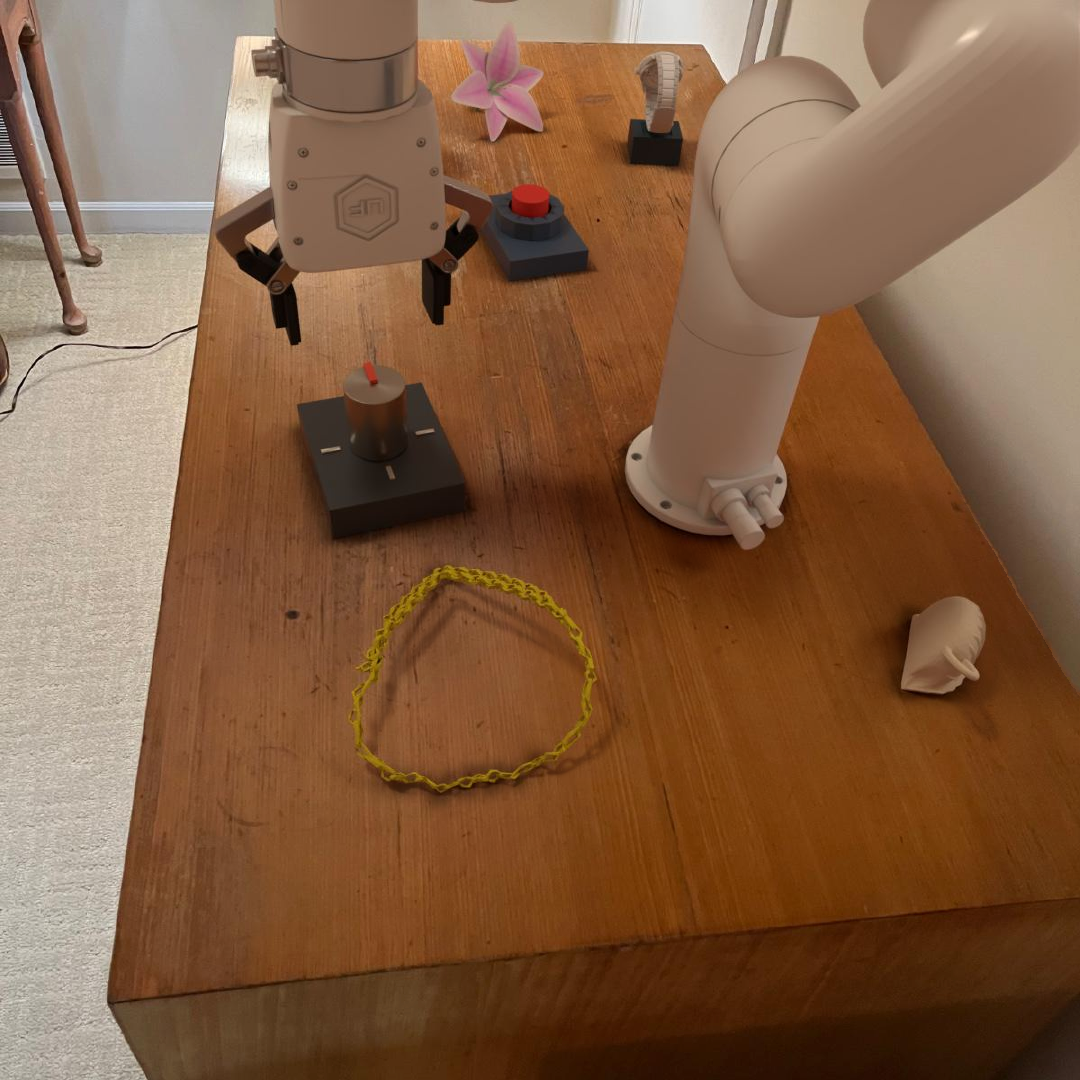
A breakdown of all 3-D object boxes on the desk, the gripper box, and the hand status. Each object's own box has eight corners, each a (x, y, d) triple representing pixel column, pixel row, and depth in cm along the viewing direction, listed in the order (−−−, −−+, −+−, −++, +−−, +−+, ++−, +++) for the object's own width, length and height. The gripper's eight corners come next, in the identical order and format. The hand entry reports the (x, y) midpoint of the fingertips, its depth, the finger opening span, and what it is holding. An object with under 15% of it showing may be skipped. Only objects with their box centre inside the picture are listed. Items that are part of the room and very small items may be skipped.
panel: (465, 511, 76) (465, 480, 74) (333, 539, 74) (329, 509, 71) (422, 410, 84) (421, 380, 82) (300, 432, 81) (296, 402, 79)
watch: (672, 139, 119) (688, 42, 111) (680, 173, 114) (697, 73, 106) (624, 137, 119) (637, 39, 111) (630, 171, 113) (644, 71, 105)
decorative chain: (438, 570, 72) (429, 527, 69) (635, 636, 68) (636, 593, 64) (313, 760, 63) (295, 721, 59) (531, 851, 58) (526, 815, 55)
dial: (414, 455, 76) (412, 394, 71) (356, 466, 75) (350, 405, 70) (399, 417, 78) (396, 356, 74) (343, 428, 77) (336, 366, 73)
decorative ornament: (971, 634, 71) (1001, 584, 67) (957, 727, 66) (989, 679, 62) (913, 614, 72) (939, 565, 68) (894, 705, 67) (922, 656, 63)
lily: (433, 148, 116) (463, 89, 108) (430, 66, 120) (459, 4, 112) (529, 172, 121) (564, 118, 113) (523, 93, 125) (557, 35, 117)
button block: (586, 269, 99) (590, 232, 97) (509, 281, 97) (511, 244, 94) (544, 207, 107) (547, 171, 104) (471, 217, 105) (472, 180, 102)
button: (553, 216, 99) (554, 200, 98) (518, 221, 98) (519, 205, 97) (540, 198, 101) (542, 182, 100) (506, 202, 100) (507, 186, 99)
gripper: (196, 109, 52) (241, 376, 64) (519, 85, 56) (502, 338, 69) (179, 47, 56) (224, 308, 69) (479, 31, 61) (470, 277, 74)
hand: (363, 323), depth 69 cm, fingers open, 9 cm apart
